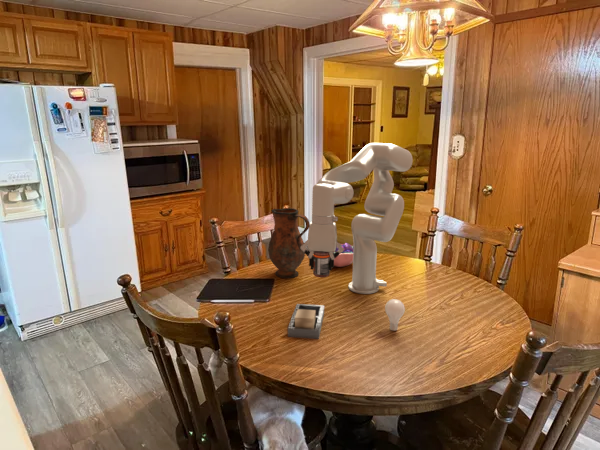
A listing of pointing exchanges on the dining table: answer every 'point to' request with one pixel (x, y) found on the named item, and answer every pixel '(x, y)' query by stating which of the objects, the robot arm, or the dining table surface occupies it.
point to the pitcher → (287, 242)
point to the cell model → (344, 256)
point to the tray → (307, 332)
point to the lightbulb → (394, 312)
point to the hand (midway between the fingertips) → (321, 268)
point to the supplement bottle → (321, 264)
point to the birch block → (305, 318)
